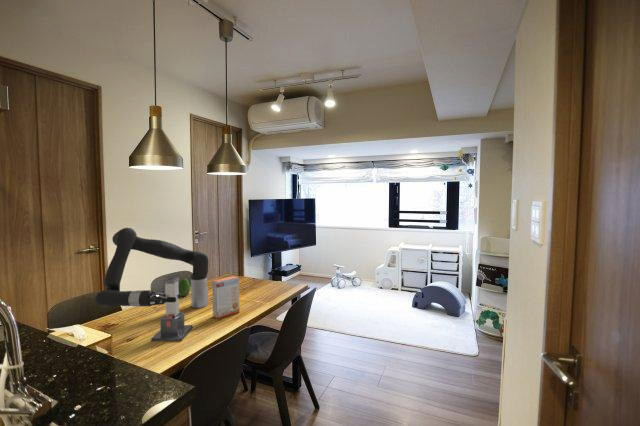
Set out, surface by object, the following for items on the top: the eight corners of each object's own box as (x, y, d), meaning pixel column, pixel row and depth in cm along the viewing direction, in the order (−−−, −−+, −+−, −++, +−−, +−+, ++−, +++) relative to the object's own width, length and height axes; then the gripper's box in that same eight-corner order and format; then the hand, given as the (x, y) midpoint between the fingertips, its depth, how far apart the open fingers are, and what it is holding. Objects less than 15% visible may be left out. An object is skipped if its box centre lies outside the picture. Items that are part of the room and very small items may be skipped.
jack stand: (164, 328, 156) (164, 308, 155) (192, 327, 157) (192, 307, 156) (151, 341, 142) (150, 319, 141) (181, 340, 143) (181, 318, 142)
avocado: (192, 294, 211) (192, 277, 210) (187, 297, 203) (187, 280, 202) (180, 294, 210) (180, 277, 210) (175, 297, 202) (175, 280, 202)
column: (171, 324, 152) (170, 276, 151) (180, 324, 152) (179, 276, 151) (165, 329, 146) (164, 280, 144) (174, 329, 146) (173, 280, 145)
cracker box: (234, 309, 182) (234, 275, 181) (239, 312, 178) (239, 277, 177) (212, 316, 172) (211, 279, 171) (217, 319, 168) (216, 281, 167)
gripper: (133, 295, 140) (171, 295, 141) (149, 286, 154) (183, 286, 155) (134, 311, 141) (171, 311, 142) (149, 300, 155) (183, 300, 156)
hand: (177, 297), depth 148 cm, fingers closed on column, 4 cm apart
